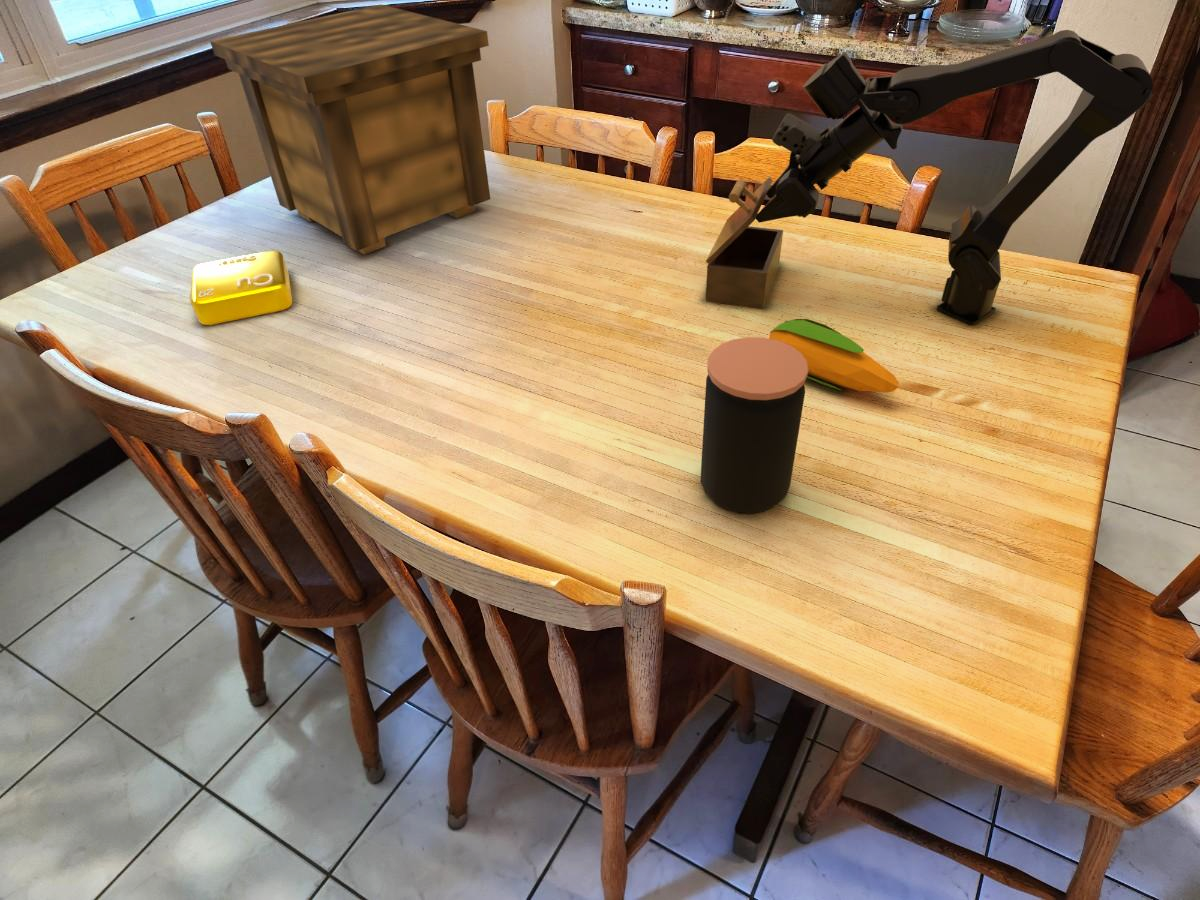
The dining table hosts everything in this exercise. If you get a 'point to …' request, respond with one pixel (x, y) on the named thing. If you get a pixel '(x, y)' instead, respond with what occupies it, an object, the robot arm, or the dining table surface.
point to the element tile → (240, 287)
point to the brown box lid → (739, 215)
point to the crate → (366, 118)
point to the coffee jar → (751, 422)
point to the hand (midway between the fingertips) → (762, 207)
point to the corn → (834, 357)
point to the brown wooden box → (745, 268)
